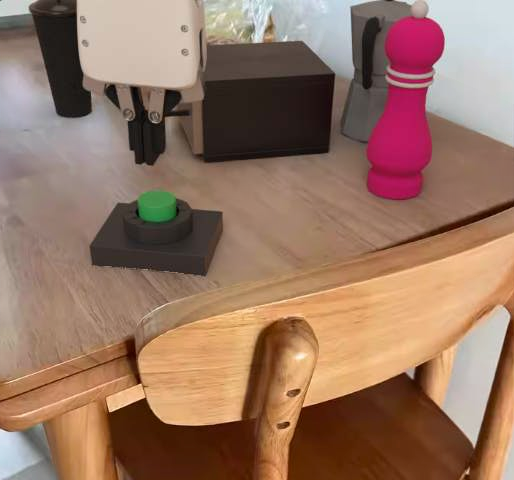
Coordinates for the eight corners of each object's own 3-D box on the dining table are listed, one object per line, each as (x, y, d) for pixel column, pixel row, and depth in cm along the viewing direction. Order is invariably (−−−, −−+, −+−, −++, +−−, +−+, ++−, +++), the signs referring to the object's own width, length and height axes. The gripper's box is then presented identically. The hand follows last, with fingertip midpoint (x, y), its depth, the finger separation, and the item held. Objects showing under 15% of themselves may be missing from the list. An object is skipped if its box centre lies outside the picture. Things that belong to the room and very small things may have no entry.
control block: (92, 265, 70) (86, 228, 67) (119, 221, 77) (116, 186, 74) (205, 276, 68) (204, 239, 66) (222, 230, 75) (222, 195, 73)
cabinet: (204, 162, 89) (202, 81, 83) (186, 121, 99) (183, 46, 93) (328, 153, 92) (335, 73, 86) (298, 113, 102) (302, 40, 96)
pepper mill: (435, 185, 85) (469, -2, 73) (409, 208, 80) (440, 13, 68) (379, 169, 88) (403, -12, 76) (351, 190, 83) (371, 1, 71)
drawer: (159, 157, 87) (154, 90, 83) (146, 118, 97) (142, 57, 92) (309, 145, 91) (313, 81, 86) (283, 109, 101) (285, 50, 96)
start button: (134, 222, 69) (132, 205, 68) (144, 205, 72) (143, 188, 71) (171, 225, 69) (170, 208, 68) (180, 208, 72) (179, 191, 70)
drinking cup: (35, 117, 99) (6, -48, 87) (63, 99, 105) (40, -59, 93) (85, 124, 98) (64, -43, 85) (111, 105, 103) (94, -54, 91)
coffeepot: (353, 109, 104) (367, -31, 93) (418, 119, 101) (441, -23, 90) (318, 148, 93) (330, -6, 82) (391, 161, 90) (413, 4, 79)
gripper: (241, -69, 58) (235, 151, 69) (59, -83, 59) (83, 135, 71) (223, -51, 52) (220, 185, 64) (22, -67, 53) (55, 168, 65)
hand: (148, 158), depth 67 cm, fingers closed
